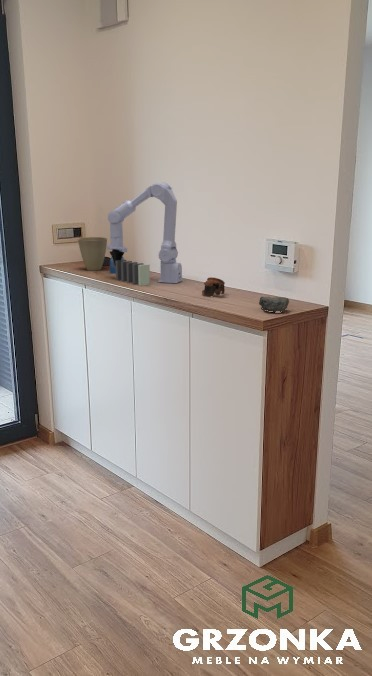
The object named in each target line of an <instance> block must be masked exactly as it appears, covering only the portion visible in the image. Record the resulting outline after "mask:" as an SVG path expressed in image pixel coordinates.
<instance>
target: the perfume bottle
mask: <svg viewBox="0 0 372 676" xmlns="http://www.w3.org/2000/svg"><path fill="white" fill-rule="evenodd" d="M121 260H125V258H124V255H123V256H122V259H121ZM109 274H110V275H111V274H113V275H114V274H115V275H116V266H115V265H114V261H113V258H112V256H111V258H110V260H109Z"/></svg>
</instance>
